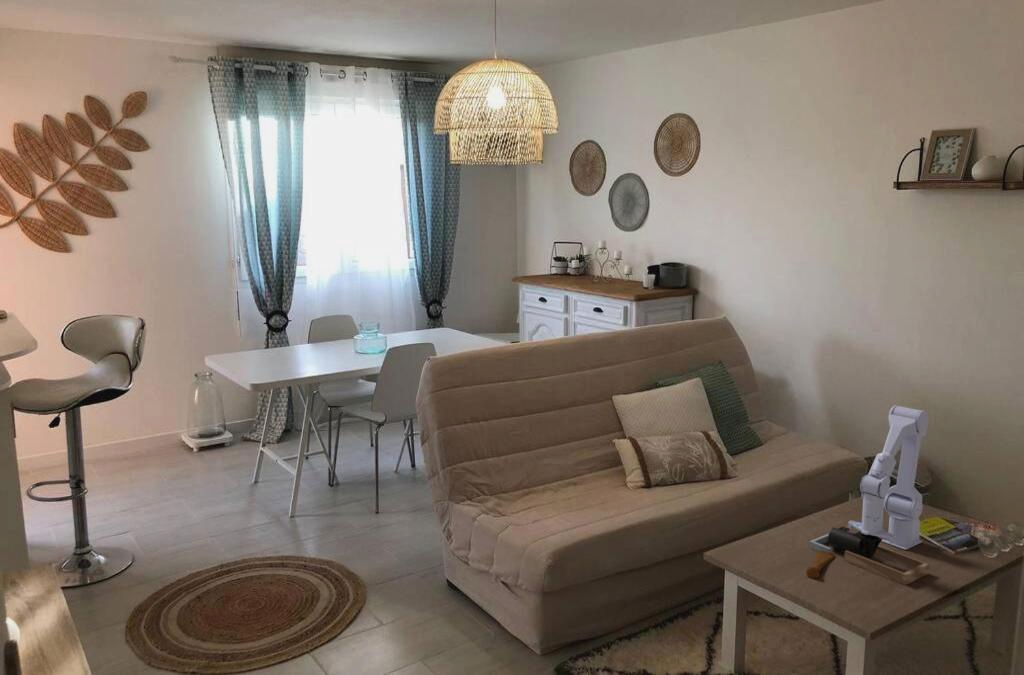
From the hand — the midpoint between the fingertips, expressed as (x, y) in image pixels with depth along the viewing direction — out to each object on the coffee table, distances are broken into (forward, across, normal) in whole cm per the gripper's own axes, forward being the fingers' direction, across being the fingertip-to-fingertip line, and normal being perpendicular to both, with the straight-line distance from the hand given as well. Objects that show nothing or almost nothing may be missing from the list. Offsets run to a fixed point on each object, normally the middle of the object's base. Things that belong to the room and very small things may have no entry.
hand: (869, 557), depth 250 cm
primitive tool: (+2, -8, -14) cm, 16 cm away
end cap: (+1, -7, 0) cm, 7 cm away
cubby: (+1, +4, 0) cm, 5 cm away
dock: (+1, -13, 0) cm, 13 cm away
